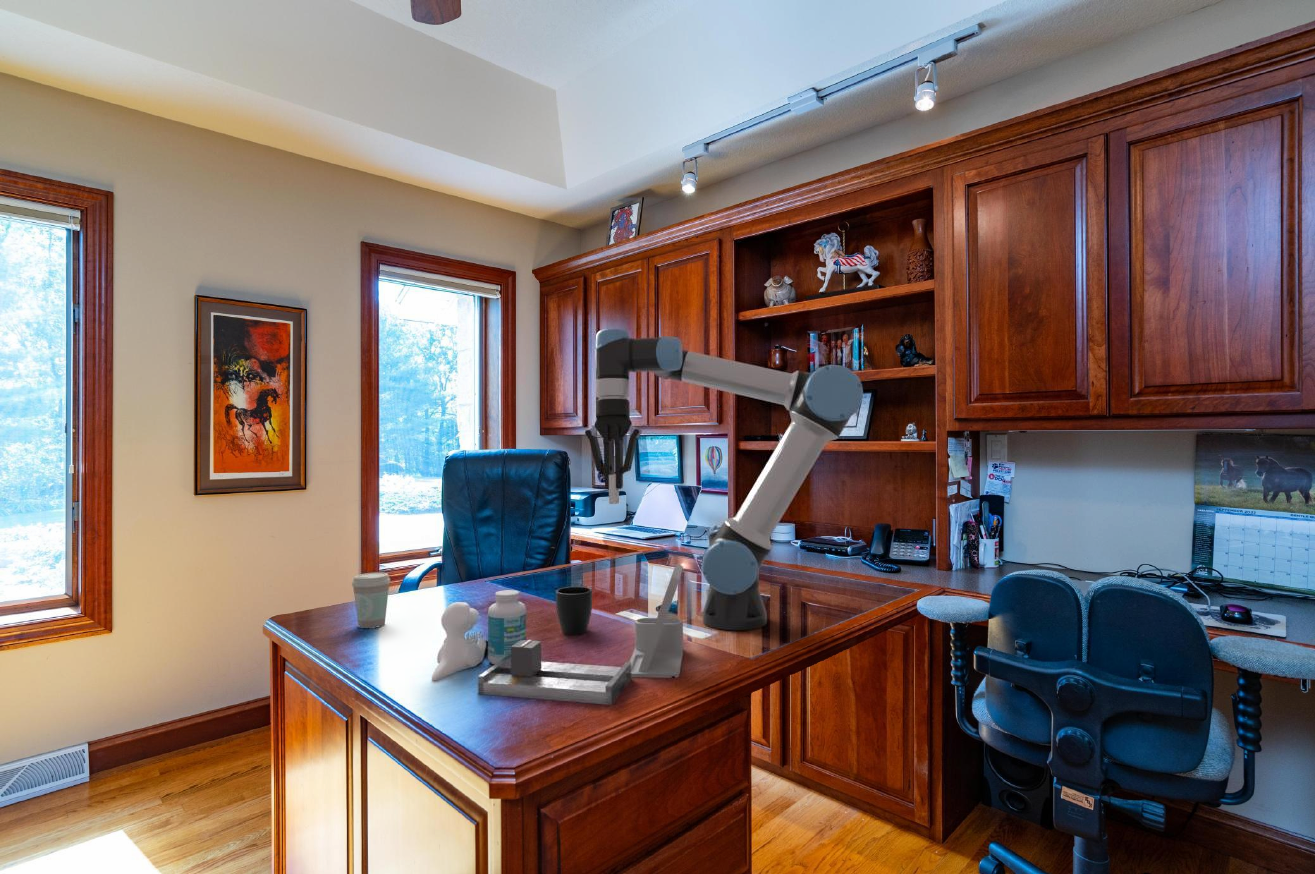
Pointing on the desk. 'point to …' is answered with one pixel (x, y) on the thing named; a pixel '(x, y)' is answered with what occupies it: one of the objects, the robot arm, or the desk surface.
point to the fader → (526, 658)
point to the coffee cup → (371, 598)
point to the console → (557, 682)
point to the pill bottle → (505, 624)
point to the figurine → (459, 641)
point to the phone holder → (659, 640)
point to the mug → (574, 609)
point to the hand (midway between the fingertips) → (614, 503)
